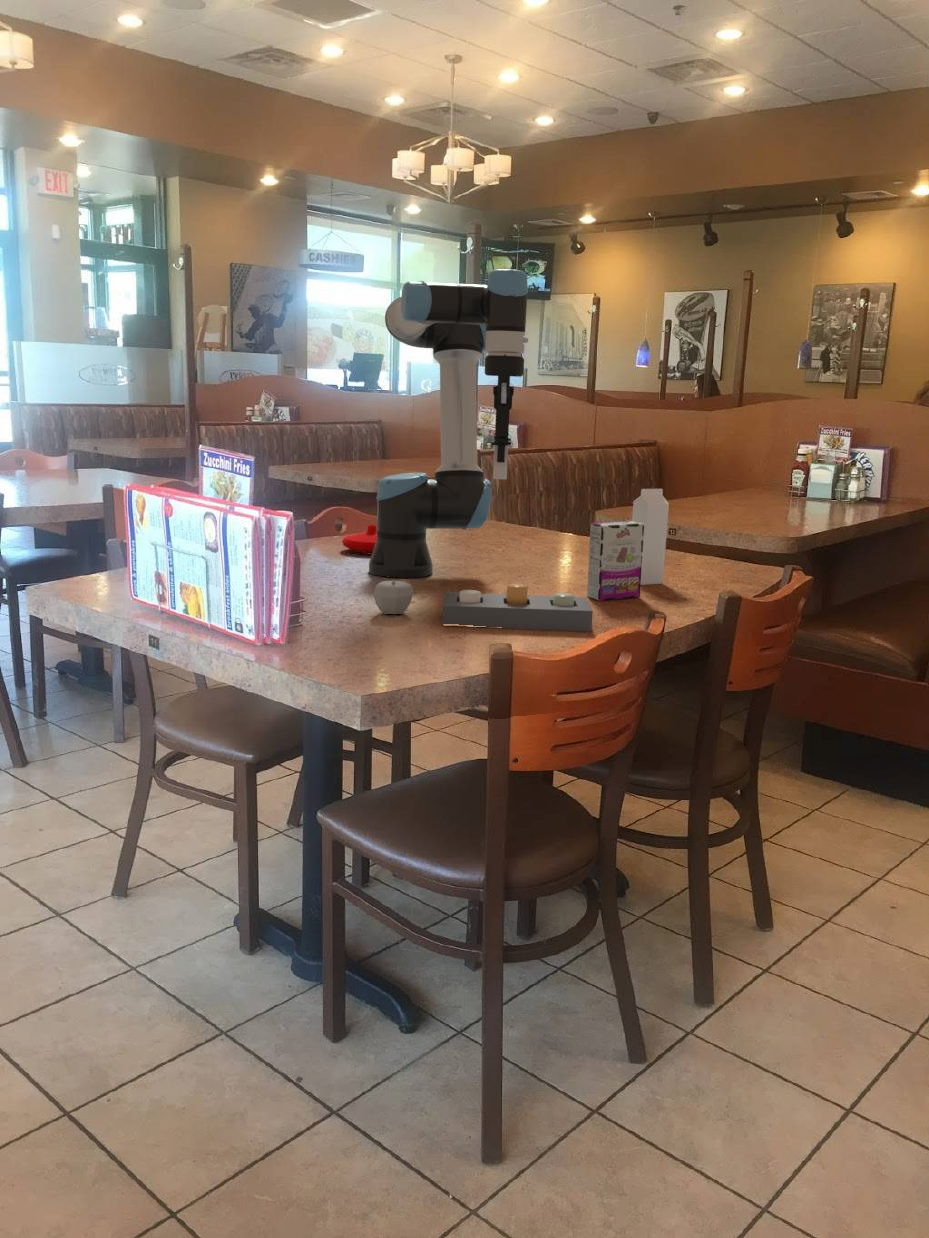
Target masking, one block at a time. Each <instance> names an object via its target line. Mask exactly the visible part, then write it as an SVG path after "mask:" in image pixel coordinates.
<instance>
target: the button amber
mask: <svg viewBox="0 0 929 1238" xmlns="http://www.w3.org/2000/svg"><path fill="white" fill-rule="evenodd" d="M528 589H529V587H528V585H526V584H520V583H511V584H510V583H509V584H507V585H506V595H507V596H506V604H524V605H527V595H528V591H529V590H528Z"/></svg>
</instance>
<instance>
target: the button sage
mask: <svg viewBox="0 0 929 1238" xmlns="http://www.w3.org/2000/svg"><path fill="white" fill-rule="evenodd" d="M552 596H553V606H574V597H575V595H574V594H571V593H564V592H559V593H553V595H552Z"/></svg>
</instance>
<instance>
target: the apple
mask: <svg viewBox="0 0 929 1238" xmlns="http://www.w3.org/2000/svg"><path fill="white" fill-rule="evenodd" d="M413 595H414V591H413V586H412V584H411V583H408V582H405V581H401V580H386V581H380V582H378V583H377V584H376V586H375V587H374V590H373V598H374V602H375V605H376V606H377V608H378V610H379V612H381V613H382V612H383V613H385V614H384V615H386V614H401V615H402V613H403V612H404V613H405V611H407V610H408V608H409V606H410V605H411V603H412V599H413ZM383 613H382V614H383Z"/></svg>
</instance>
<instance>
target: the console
mask: <svg viewBox="0 0 929 1238" xmlns="http://www.w3.org/2000/svg"><path fill="white" fill-rule="evenodd" d="M506 596H507V594H504V593H503V594H501V593H500V594H498V593H495V594H494V593H493V594H492V593H481V595H480V603H468V602H459V601H460V592H444V596H443V602H442V615H441V617H442V618H441V620H442V621H441V625H442V624H459V625H473V626H486V627H502V628H515V629H514V630H531V631H532V630H533V631H559V632H561V631H562V632H587V633H588V632H590V633H592V631H593V630H592V629H593V613H594V612H593V608H592V606H591V604H590V603H589V600H588V597H585V596H584V597H583V596H574V606H553V595H529V594H527V605H524V604H506Z"/></svg>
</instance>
